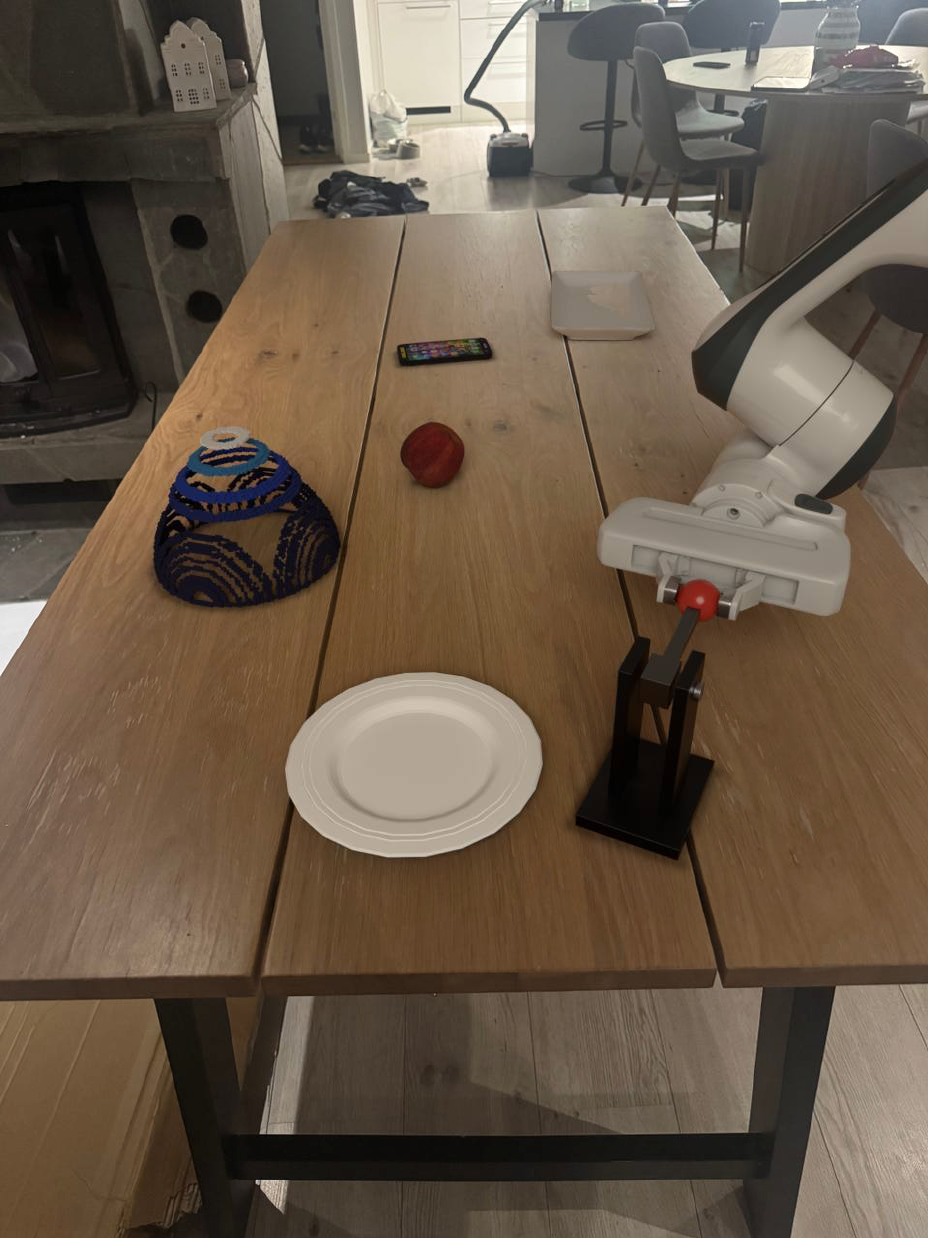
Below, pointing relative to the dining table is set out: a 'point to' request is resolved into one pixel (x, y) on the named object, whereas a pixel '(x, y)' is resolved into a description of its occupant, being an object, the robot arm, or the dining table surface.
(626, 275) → the tray
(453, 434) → the apple
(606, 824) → the switch bracket
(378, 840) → the plate
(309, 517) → the decorative bowl
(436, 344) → the smartphone
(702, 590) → the lever
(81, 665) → the dining table surface
